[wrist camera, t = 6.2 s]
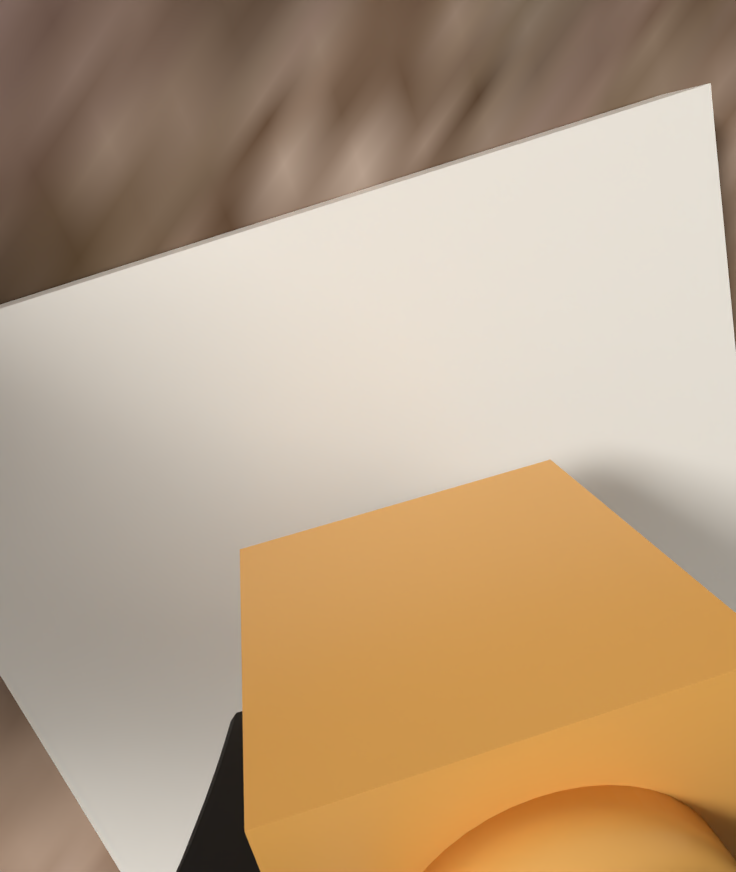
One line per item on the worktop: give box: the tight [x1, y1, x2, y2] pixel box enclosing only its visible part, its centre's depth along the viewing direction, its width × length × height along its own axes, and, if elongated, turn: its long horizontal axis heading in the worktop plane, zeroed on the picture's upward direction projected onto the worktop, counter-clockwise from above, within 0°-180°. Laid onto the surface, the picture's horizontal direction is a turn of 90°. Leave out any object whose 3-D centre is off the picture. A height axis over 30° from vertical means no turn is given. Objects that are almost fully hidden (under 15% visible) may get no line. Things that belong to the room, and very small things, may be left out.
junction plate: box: [0, 83, 736, 872], centre depth 13 cm, size 16×14×5 cm
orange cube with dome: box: [240, 460, 736, 872], centre depth 9 cm, size 5×5×6 cm
